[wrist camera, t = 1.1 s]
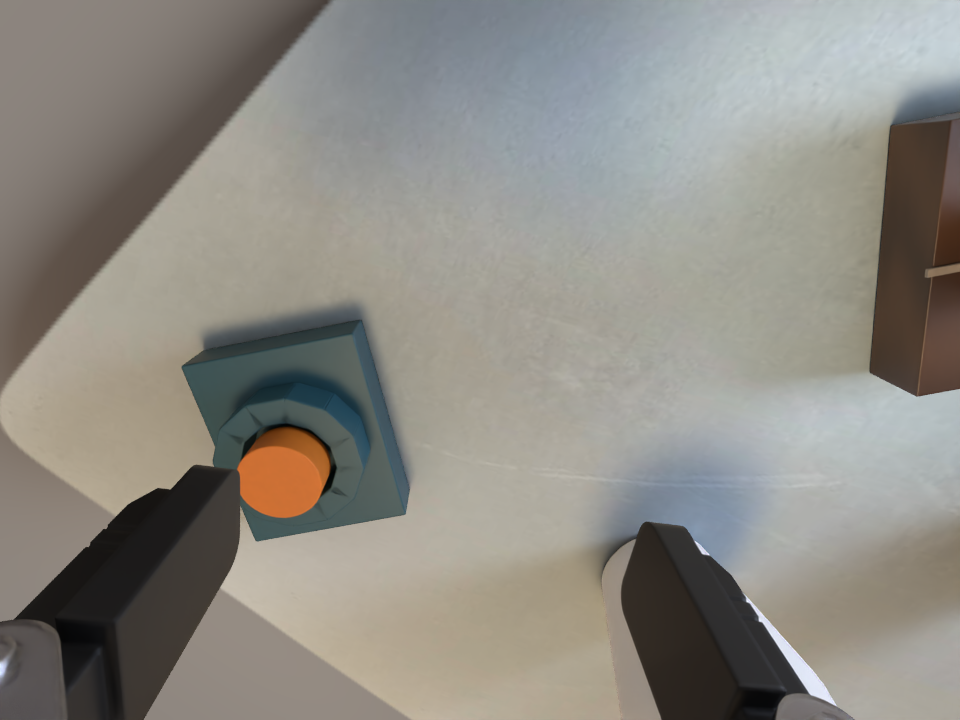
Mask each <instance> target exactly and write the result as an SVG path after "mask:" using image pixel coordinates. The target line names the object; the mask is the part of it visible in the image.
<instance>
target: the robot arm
mask: <svg viewBox="0 0 960 720" xmlns="http://www.w3.org/2000/svg"><path fill="white" fill-rule="evenodd" d="M239 538H240V474H239V472H238V470H235V469H227V468H218V467H210V466H202V465H194V466H192V467H191V468H190V469H189V470H188V471H187V472H186V474H185V475H184V476H183V477H182V478H181V479H180V480H179V481H178V482H177V483H176V485H175V486H174V487H173V488H172V489H171V490H169V489H161V488H157V489H155V490H153V491H152V492H150V493H148V494H146V495H144V496H142V497H141V498H139V499H137V500H135V501H133V502H131V503H130V504H128V505H127V506H126V507H125V508H124V509H123V510H122V511H121V512H120V513H119V514H118V515H117V516H116V517H115V518H114V519H113V520H112V521H111V522H110V524H108V527H107V529H103V530H102V531H101V532H100V533H99V534H98V535H97V536H96V537H95V538H94V539H93V540H92V541H91V543H90V546H89V547H86V548H85V549H83V550H82V551H81V552H80V553H79V554H78V555H77V557H75V559H73V560H72V562H70V563H69V565H67V566H66V568H65V569H64V570H63V571H62V572H61V573H60V574H59V575H58V576H57V577H56V578H55V579H54V580H53V581H52V582H51V583H50V584H49V585H48V586H47V587H46V588H45V589H44V590H43V591H42V592H41V593H40V594H39V595H38V596H37V597H36V598H35V599H34V600H33V601H32V602H31V603H30V604H29V605H28V606H27V607H26V608H25V609H24V610H23V611H22V612H21V613H20V614H19V615H18V616H17V617H16V618H15V619H14V620H9V621H2V622H0V720H144V718H145V716H146V714H147V712H148V711H149V709H150V707H151V706H152V704H153V702H154V701H155V699H156V697H157V695H158V694H159V692H160V690H161V689H162V687H163V685H164V683H165V682H166V680H167V678H168V676H169V675H170V673H171V671H172V670H173V668H174V666H175V664H176V663H177V661H178V659H179V657H180V656H181V654H182V652H183V650H184V649H185V647H186V645H187V643H188V642H189V640H190V638H191V637H192V635H193V633H194V631H195V630H196V628H197V626H198V624H199V623H200V621H201V619H202V618H203V616H204V614H205V612H206V611H207V609H208V607H209V606H210V604H211V602H212V600H213V599H214V597H215V595H216V593H217V591H218V590H219V588H220V587H221V585H222V583H223V581H224V580H225V578H226V576H227V574H228V573H229V571H230V569H231V567H232V565H233V562H234V560H235V557H236V553H237V549H238V545H239ZM621 605H622V610H623V614H624V617H625V620H626V623H627V625H628V628H629V631H630V634H631V636H632V639H633V642H634V645H635V648H636V650H637V653H638V656H639V659H640V661H641V664H642V667H643V670H644V673H645V675H646V678H647V681H648V684H649V686H650V689H651V692H652V695H653V698H654V700H655V703H656V706H657V709H658V711H659V714H660V717H661V720H854V719H853V718H852V717H851V716H849V715H848V714H847V713H845V712H844V711H843V710H841V709H839V708H838V707H836V706H835V705H833V704H831V703H829V702H827V701H825V700H823V699H820V698H818V697H815V696H812V695H810V694H809V692H808V691H807V689H806V688H805V686H804V685H803V683H802V682H801V680H800V679H799V677H798V676H797V674H796V673H795V671H794V669H793V668H792V666H791V665H790V663H789V662H788V660H787V659H786V657H785V656H784V654H783V653H782V651H781V650H780V648H779V647H778V645H777V644H776V642H775V641H774V639H773V638H772V636H771V635H770V633H769V632H768V630H767V629H766V627H765V626H764V624H763V622H759V616H758V615H757V613H756V612H755V610H754V609H753V607H752V606H751V604H750V603H749V602H746V597H745V595H744V594H743V592H742V591H741V589H740V588H739V586H738V585H737V583H736V582H735V580H734V579H733V577H732V576H731V575H730V574H729V573H728V572H727V571H726V570H725V569H724V568H723V567H722V566H720V565H719V564H718V563H717V562H716V561H715V560H714V559H713V558H712V557H711V556H709V555H704V554H702V553H701V551H700V550H699V548H698V546H697V545H696V543H695V541H694V540H693V538H692V537H691V535H690V533H689V532H688V530H687V529H686V528H685V527H683V526H678V525H670V524H662V523H654V522H645V523H643V524H642V526H641V527H640V530H639V532H638V535H637V538H636V541H635V544H634V547H633V550H632V553H631V556H630V559H629V562H628V565H627V568H626V571H625V574H624V577H623V581H622V586H621Z"/></svg>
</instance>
